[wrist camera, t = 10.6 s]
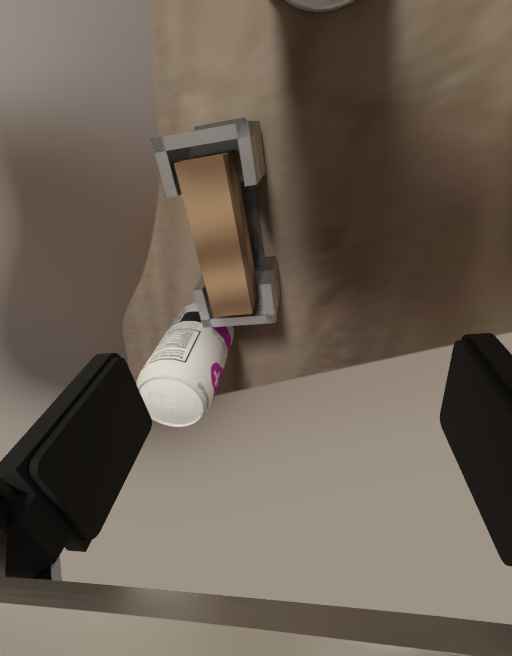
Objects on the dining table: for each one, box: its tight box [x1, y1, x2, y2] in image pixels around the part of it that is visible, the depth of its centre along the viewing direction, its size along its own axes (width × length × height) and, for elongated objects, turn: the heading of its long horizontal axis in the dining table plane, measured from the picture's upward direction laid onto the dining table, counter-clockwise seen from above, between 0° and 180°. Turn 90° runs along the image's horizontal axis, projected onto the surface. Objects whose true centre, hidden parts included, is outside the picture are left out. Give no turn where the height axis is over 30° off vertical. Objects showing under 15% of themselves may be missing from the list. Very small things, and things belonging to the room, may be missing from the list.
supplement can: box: [137, 303, 234, 427], centre depth 39 cm, size 8×8×15 cm
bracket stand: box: [151, 118, 280, 328], centre depth 34 cm, size 19×8×8 cm, turn 9°
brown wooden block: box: [174, 150, 258, 317], centre depth 31 cm, size 14×4×5 cm, turn 9°
